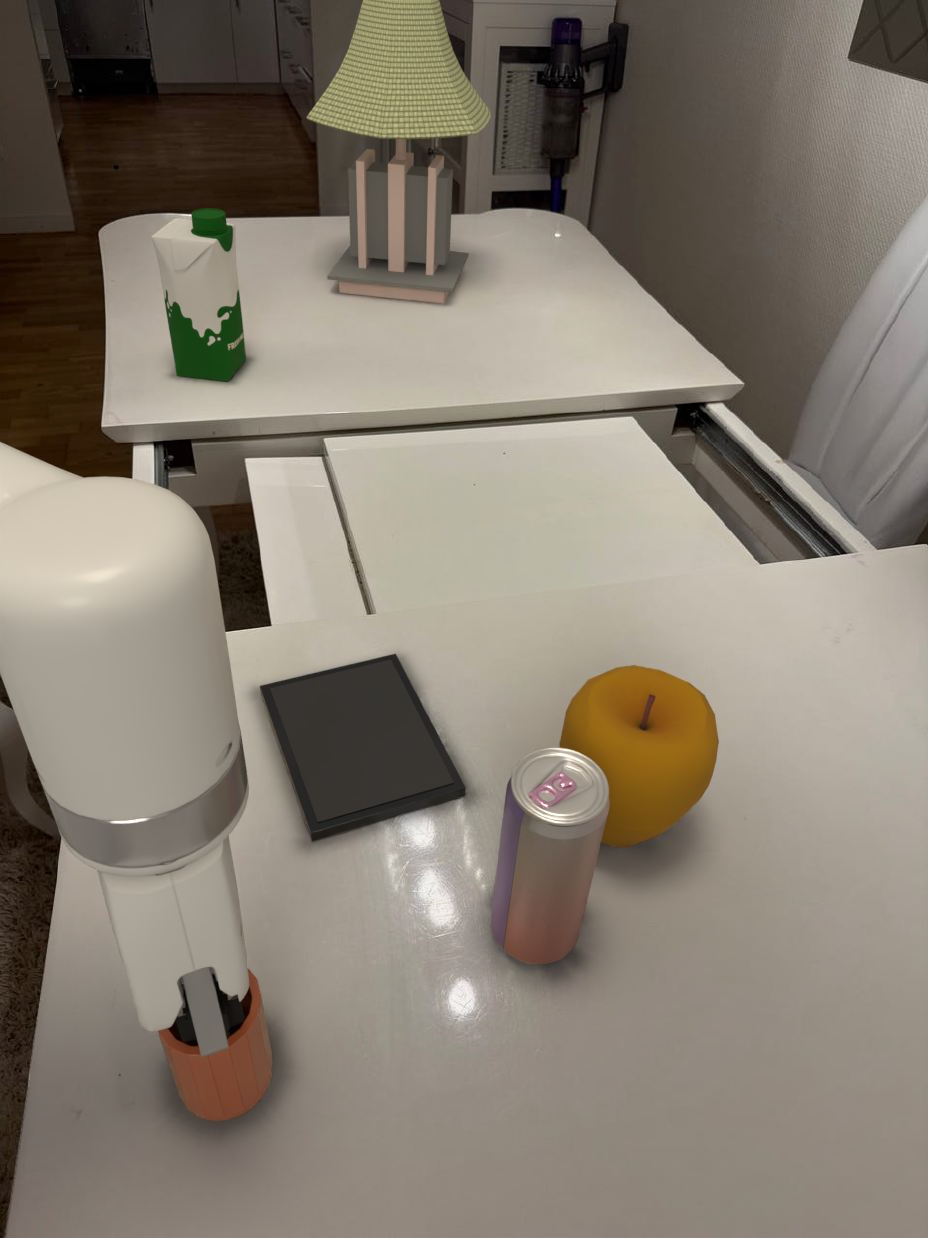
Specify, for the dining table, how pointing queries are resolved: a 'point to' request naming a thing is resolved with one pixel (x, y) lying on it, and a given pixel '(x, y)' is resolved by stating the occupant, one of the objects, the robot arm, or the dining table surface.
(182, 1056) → the pen cup
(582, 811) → the beverage can
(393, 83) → the desk lamp
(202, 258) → the milk carton
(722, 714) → the dining table surface
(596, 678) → the apple
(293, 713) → the tablet
